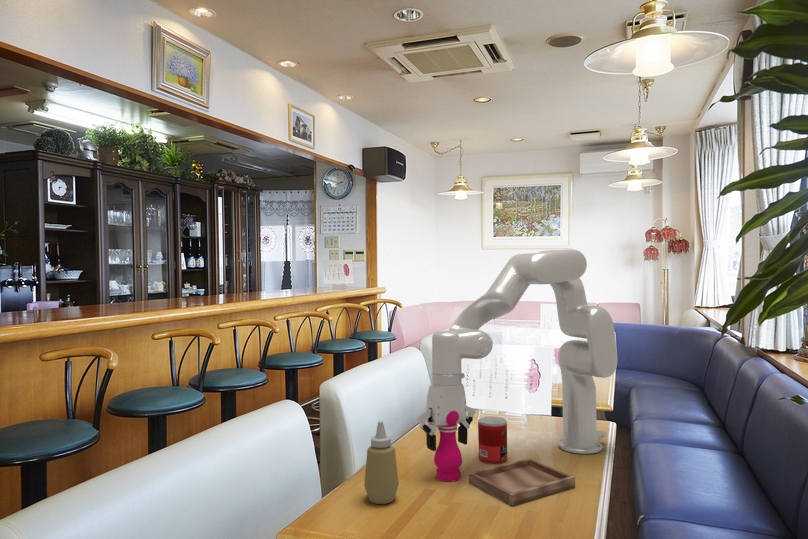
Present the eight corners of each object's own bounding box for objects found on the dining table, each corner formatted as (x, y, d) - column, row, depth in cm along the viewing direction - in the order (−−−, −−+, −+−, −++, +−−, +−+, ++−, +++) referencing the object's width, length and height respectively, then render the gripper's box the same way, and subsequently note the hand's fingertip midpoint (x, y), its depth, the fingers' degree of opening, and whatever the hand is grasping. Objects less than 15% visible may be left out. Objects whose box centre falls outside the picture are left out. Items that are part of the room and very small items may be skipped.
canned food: (507, 465, 149) (506, 424, 149) (477, 463, 151) (477, 423, 151) (507, 455, 157) (507, 417, 157) (479, 454, 158) (478, 415, 158)
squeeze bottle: (386, 510, 122) (385, 429, 122) (357, 502, 126) (356, 424, 126) (405, 496, 129) (404, 420, 129) (377, 490, 133) (376, 415, 133)
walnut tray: (528, 467, 147) (528, 458, 147) (575, 487, 133) (575, 477, 133) (468, 483, 137) (468, 473, 137) (512, 506, 123) (512, 495, 123)
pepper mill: (466, 474, 143) (465, 397, 143) (457, 484, 136) (455, 403, 136) (440, 470, 146) (439, 395, 146) (430, 479, 139) (428, 401, 139)
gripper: (465, 373, 149) (465, 437, 149) (410, 380, 140) (410, 448, 140) (482, 378, 142) (483, 444, 142) (426, 386, 133) (426, 456, 133)
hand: (447, 446), depth 141 cm, fingers open, 9 cm apart
